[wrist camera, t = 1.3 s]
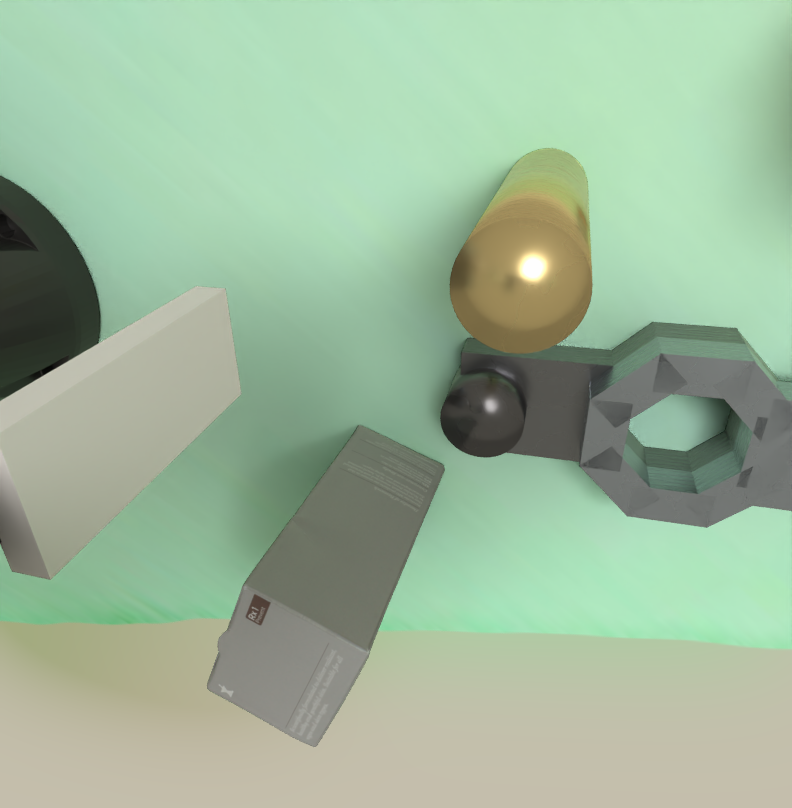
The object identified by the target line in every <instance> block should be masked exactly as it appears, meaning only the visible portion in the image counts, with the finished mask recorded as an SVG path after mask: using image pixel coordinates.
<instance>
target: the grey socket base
mask: <svg viewBox="0 0 792 808" xmlns="http://www.w3.org/2000/svg"><path fill="white" fill-rule="evenodd" d="M670 394H679V395H689V396H699V397H710V398H720V399H724V400H725V401H726V402H727V403H728V404H729V405H730V407H731V411H730V415H729V418H728V422H727V425H726V429H725V431H724V432H722V433H720V434H718V435H717V436H715V437H713V438H711V439H709V440H708V441H706V442H704V443H702V444H700V445H698V446H697V447H695V448H693V449H691V450H689V451H688V452H683V451H675V450H667V449H658V448H650V447H644V446H643V445H642V444H641V443H640V442H639V441H638V440H637V439H636V438H635V436H634V435H633V434H632V433H631V432H630V431H629V430H628V427H629V422H630V419H631V418H633V417H635V416H636V415H638V414H639V413H641V412H643V411H644V410H646V409H648V408H649V407H651V406H652V405H654V404H656V403H657V402H659V401H661V400H662V399H664V398H665V397H667V396H669V395H670ZM440 419H441V426H442V429H443V432H444V434H445V436H446V437H447V439H448V440H449V441H450V442H451V443H452V444H453V445H454V446H455V447H456V448H458V449H459V450H461V451H463V452H465V453H467V454H469V455H473V456H477V457H494V456H498V455H501V454H504V453H514V454H522V455H530V456H538V457H546V458H554V459H562V460H570V461H578V462H580V465H579V466H580V467H581V468H582V469H583V470H584V471H585V472H586V473H587V474H588V475H589V476H590V477H591V478H592V479H593V481H594V482H595V483H596V484H597V485H598V486H599V487H600V488H601V489H602V490H603V491H604V492H605V493H606V494H607V495H608V496H609V497H610V498H611V500H612V501H613V502H614V503H615V504H616V505H617V506H618V507H619V508H620V509H621V510H622V511H623V512H624V513H625V514H626V516H630V517H637V518H644V519H651V520H658V521H665V522H672V523H679V524H686V525H693V526H700V527H706V528H707V527H709V526H711V525H713V524H715V523H717V522H719V521H721V520H723V519H726V518H728V517H730V516H732V515H734V514H736V513H738V512H740V511H742V510H744V509H746V508H749V507H751V506H759V507H767V508H774V509H782V510H789V511H792V382H783V381H779V379H778V378H777V377H776V376H775V374H774V373H773V372H772V371H771V370H770V368H769V367H768V366H767V365H766V364H765V362H764V361H763V360H762V359H761V358H760V356H759V355H758V354H757V353H756V352H755V350H754V349H753V348H752V347H751V346H750V344H749V343H748V342H747V341H746V340H745V338H744V337H743V336H742V335H741V334H740V332H739V331H738V329H737V328H724V327H711V326H697V325H684V324H671V323H657V322H652V323H651V324H649V325H648V326H646V327H645V328H644V329H642V330H641V331H639V332H638V333H636V334H635V335H633V336H632V337H630V338H629V339H628V340H626V341H625V342H623V343H622V344H620V345H619V346H617V347H616V348H615V349H613V350H603V349H591V348H580V347H568V346H557V345H554V346H552V347H550V348H548V349H545V350H542V351H538V352H533V353H524V354H517V353H508V352H503V351H499V350H496V349H493V348H491V347H488V346H487V345H485V344H483V343H481V342H480V341H478V340H477V339H475V338H467V340H466V342H465V345H464V347H463V350H462V353H461V366H460V367H459V369H458V370H457V372H456V374H455V377H454V379H453V382H452V384H451V387H450V389H449V392H448V394H447V397H446V399H445V402H444V404H443V407H442V410H441V417H440Z"/></svg>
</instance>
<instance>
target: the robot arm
mask: <svg viewBox="0 0 792 808" xmlns="http://www.w3.org/2000/svg"><path fill="white" fill-rule="evenodd" d="M99 327H100V317H99V307H98V301H97V296H96V292H95V289H94V285H93V282H92V279H91V277H90V274H89V272H88V269H87V267H86V265H85V263H84V261H83V259H82V257H81V255H80V253H79V251H78V249H77V248H76V246H75V245H74V243H73V241H72V240H71V238H70V237H69V236H68V234H67V233H66V231H65V230H64V229H63V228H62V226H61V225H60V224H59V223H58V221H57V220H56V219H55V218H54V217H53V216H52V215H51V214H50V213H49V211H48V210H47V209H46V208H45V207H44V206H42V205H41V204H40V203H39V202H38V201H37V200H36V199H35V198H33V197H32V196H31V195H30V194H28V193H27V192H26V191H24V190H23V189H22V188H20V187H19V186H17V185H16V184H14V183H12V182H11V181H9V180H7V179H5V178H3V177H1V176H0V544H1V546H2V549H3V551H4V554H5V556H6V558H7V561H8V563H9V566H10V568H11V570H12V572H17V573H22V574H26V575H31V576H36V577H40V578H45V579H50V580H51V579H52V578H53V577H54V576H55V575H56V574H57V573H58V572H59V571H60V570H61V569H62V568H63V567H64V566H65V565H66V564H67V563H68V562H69V561H70V560H71V559H72V558H73V557H74V556H75V555H77V554H78V553H79V552H80V551H81V550H82V549H83V548H84V547H85V546H86V545H87V544H88V543H89V542H90V541H91V540H92V539H93V538H94V537H95V536H96V535H97V534H98V533H99V532H100V531H101V530H102V529H103V528H104V527H105V526H106V525H107V524H108V523H109V522H110V521H111V520H112V519H114V518H115V517H116V516H117V515H118V514H119V513H120V512H121V511H122V510H123V509H124V508H125V507H126V506H127V505H128V504H129V503H130V502H131V501H132V500H133V499H134V498H135V497H136V496H137V495H138V494H139V493H140V492H141V491H142V490H143V489H144V488H145V487H146V486H147V485H148V484H149V483H150V482H152V481H153V480H154V479H155V478H156V477H157V476H158V475H159V474H160V473H161V472H162V471H163V470H164V469H165V468H166V467H167V466H168V465H169V464H170V463H171V462H172V461H173V460H174V459H175V458H176V457H177V456H178V455H179V454H180V453H181V452H182V451H183V450H184V449H185V448H186V447H187V446H188V445H190V444H191V443H192V442H193V441H194V440H195V439H196V438H197V437H198V436H199V435H200V434H201V433H202V432H203V431H204V430H205V429H206V428H207V427H208V426H209V425H210V424H211V423H212V422H213V421H214V420H215V419H216V418H217V417H218V416H219V415H220V414H221V413H222V412H223V411H224V410H225V409H227V408H228V407H229V406H230V405H231V404H232V403H233V402H234V401H235V400H236V399H237V398H238V397H239V396H240V395H241V387H240V381H239V374H238V367H237V361H236V354H235V348H234V341H233V335H232V328H231V321H230V315H229V308H228V302H227V295H226V289H225V288H212V287H199V286H196V287H194V288H192V289H191V290H189V291H187V292H185V293H184V294H182V295H180V296H179V297H177V298H175V299H173V300H172V301H170V302H168V303H167V304H165V305H163V306H162V307H160V308H158V309H156V310H155V311H153V312H151V313H150V314H148V315H146V316H144V317H143V318H141V319H139V320H138V321H136V322H134V323H133V324H131V325H129V326H127V327H126V328H124V329H122V330H121V331H119V332H117V333H115V334H114V335H112V336H110V337H109V338H107V339H105V340H104V341H102V342H100V343H98V344H97V342H98V337H99Z"/></svg>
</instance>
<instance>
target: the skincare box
mask: <svg viewBox="0 0 792 808" xmlns="http://www.w3.org/2000/svg"><path fill="white" fill-rule="evenodd" d="M444 471H445V468H444V466H443V465H442V464H440V463H438V462H436V461H434V460H432V459H430V458H427V457H425V456H423V455H421V454H419V453H417V452H415V451H413V450H411V449H409V448H407V447H405V446H403V445H401V444H399V443H397V442H395V441H393V440H391V439H389V438H387V437H385V436H383V435H380V434H379V433H376V432H374V431H372V430H370V429H368V428H366V427H364V426H361V425H359V426H358V427H357V429H356V430H355V432H354V433H353V435H352V436H351V437H350V439H349V440H348V442H347V443H346V445H345V446H344V447H343V449H342V450H341V451H340V453H339V454H338V455H337V457H336V458H335V460H334V461H333V462H332V464H331V465H330V466H329V468H328V469H327V470H326V472H325V473H324V475H323V476H322V477H321V479H320V480H319V481H318V483H317V484H316V486H315V487H314V488H313V490H312V491H311V492H310V494H309V495H308V497H307V498H306V499H305V501H304V502H303V504H302V505H301V506H300V508H299V509H298V510H297V512H296V513H295V515H294V516H293V517H292V518H291V519H290V520H289V522H288V523H287V525H286V526H285V528H284V529H283V530H282V532H281V533H280V534H279V536H278V537H277V538H276V540H275V541H274V543H273V544H272V545H271V547H270V548H269V549H268V551H267V552H266V553H265V555H264V556H263V558H262V559H261V560H260V562H259V563H258V564H257V566H256V567H255V568H254V570H253V571H252V573H251V574H250V575H249V577H248V578H247V580H246V581H245V583H244V584H243V586H242V590H241V592H240V595H239V598H238V601H237V603H236V606H235V609H234V612H233V615H232V617H231V620H230V623H229V626H228V629H227V631H225V632H224V633H223V634H222V635H221V636H220V637H219V640H218V651H219V652H218V655H217V658H216V660H215V663H214V666H213V669H212V672H211V674H210V677H209V680H208V683H207V689H208V690H209V691H211V692H213V693H215V694H216V695H218V696H220V697H222V698H224V699H226V700H228V701H229V702H231V703H233V704H235V705H237V706H238V707H240V708H242V709H244V710H246V711H247V712H249V713H251V714H253V715H255V716H256V717H258V718H260V719H262V720H263V721H265V722H267V723H269V724H270V725H272V726H274V727H275V728H277V729H279V730H280V731H282V732H284V733H286V734H288V735H289V736H291V737H293V738H295V739H297V740H299V741H301V742H303V743H306V744H308V745H310V746H313V747H316V746H317V745H318V743H319V742H320V740H321V739H322V737H323V735H324V734H325V732H326V730H327V729H328V727H329V725H330V724H331V722H332V721H333V719H334V717H335V715H336V714H337V712H338V711H339V709H340V707H341V706H342V704H343V702H344V701H345V699H346V697H347V695H348V693H349V692H350V690H351V688H352V686H353V685H354V683H355V681H356V679H357V677H358V676H359V674H360V672H361V670H362V668H363V666H364V665H365V663H366V661H367V659H368V657H369V654H370V650H371V648H372V645H373V642H374V640H375V637H376V635H377V632H378V630H379V627H380V625H381V622H382V619H383V617H384V614H385V612H386V609H387V607H388V604H389V602H390V600H391V597H392V595H393V592H394V590H395V588H396V585H397V583H398V581H399V578H400V576H401V573H402V571H403V569H404V566H405V564H406V562H407V559H408V557H409V554H410V552H411V549H412V547H413V545H414V542H415V540H416V537H417V535H418V532H419V530H420V527H421V525H422V522H423V520H424V518H425V516H426V513H427V511H428V509H429V506H430V504H431V501H432V499H433V497H434V494H435V492H436V490H437V488H438V485H439V483H440V480H441V478H442V476H443V473H444Z"/></svg>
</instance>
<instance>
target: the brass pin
mask: <svg viewBox="0 0 792 808" xmlns="http://www.w3.org/2000/svg"><path fill="white" fill-rule="evenodd" d="M591 295H592V265H591V243H590V220H589V198H588V181H587V177H586V174H585V171H584V169H583V167H582V166H581V164H580V163H579V162H578V161H577V160H576V159H575V158H574V157H573V156H572V155H570V154H569V153H567V152H565V151H562V150H559V149H553V148H544V149H538V150H535V151H532V152H530V153H528V154H526V155H525V156H523V157H522V158H521V159H520V160H518V162H517V163H516V164H515V165H514V166H513V167H512V169H511V170H510V172H509V174H508V175H507V177H506V178H505V180H504V182H503V183H502V185H501V186H500V188H499V190H498V191H497V193H496V194H495V196H494V198H493V199H492V201H491V202H490V204H489V206H488V207H487V209H486V210H485V212H484V214H483V215H482V217H481V218H480V220H479V222H478V223H477V225H476V226H475V228H474V230H473V231H472V233H471V234H470V236H469V238H468V239H467V241H466V242H465V244H464V246H463V247H462V249H461V250H460V252H459V254H458V256H457V258H456V260H455V262H454V265H453V268H452V272H451V277H450V296H451V302H452V305H453V308H454V311H455V313H456V315H457V317H458V319H459V320H460V322H461V324H462V325H463V326H464V328H465V329H466V330H467V331H468V332H469V333H470V334H471V335H472V336H473V337H474V338H476V339H477V340H478V341H480V342H481V343H483V344H485V345H487V346H488V347H491V348H493V349H496V350H499V351H503V352H508V353H517V354H524V353H533V352H538V351H542V350H545V349H548V348H550V347H552V346H554V345H556V344H558V343H559V342H561V341H563V340H564V339H565V338H566V337H568V336H569V335H570V334H571V333H572V332H573V331H574V330H575V329H576V328H577V327H578V325H579V324H580V322H581V321H582V320H583V318H584V316H585V314H586V312H587V309H588V307H589V304H590V300H591Z"/></svg>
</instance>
